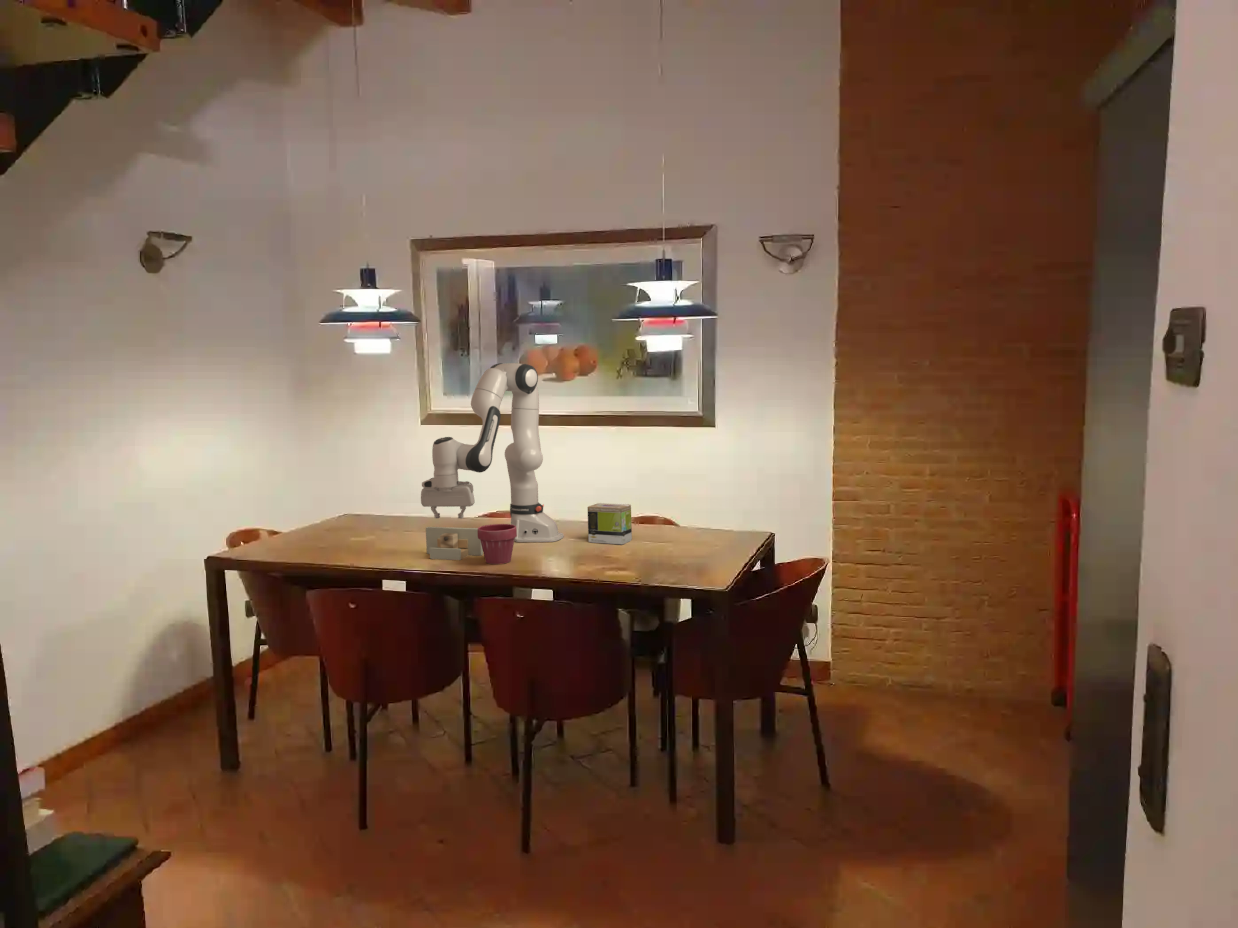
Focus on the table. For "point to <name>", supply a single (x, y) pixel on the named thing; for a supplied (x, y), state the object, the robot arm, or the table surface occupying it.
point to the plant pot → (497, 542)
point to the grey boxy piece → (466, 543)
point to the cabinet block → (449, 540)
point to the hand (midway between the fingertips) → (449, 518)
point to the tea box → (609, 523)
